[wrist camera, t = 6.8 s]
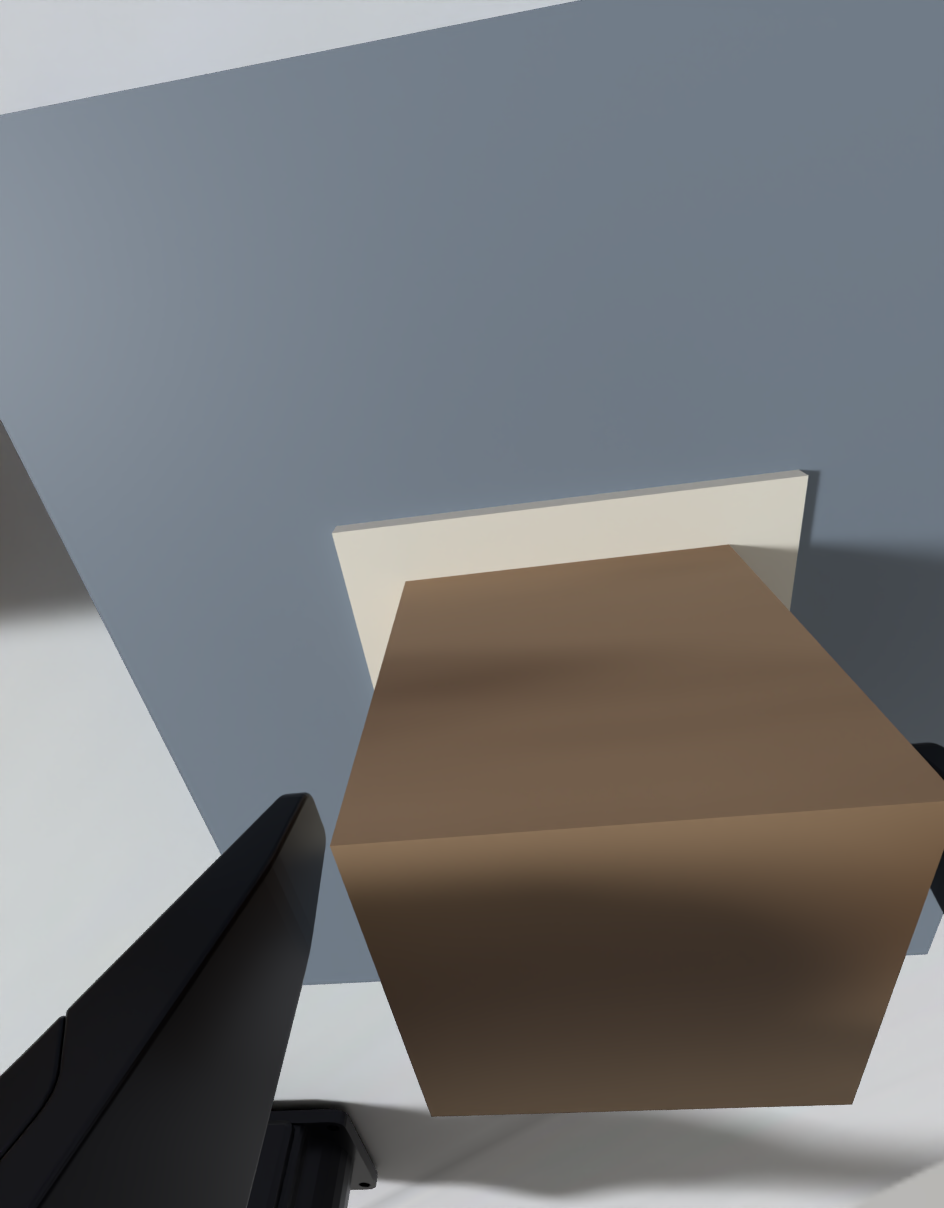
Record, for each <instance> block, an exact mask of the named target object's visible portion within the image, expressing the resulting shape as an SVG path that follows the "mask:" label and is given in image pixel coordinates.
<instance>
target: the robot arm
mask: <svg viewBox="0 0 944 1208" xmlns="http://www.w3.org/2000/svg"><path fill="white" fill-rule="evenodd" d="M911 745H912V746H913V747H914V748H915V749H916V750H917V751H918V752H919V754H920V755H921V756H922V757H923V758H924V759H925V760H926V761H927V762H928V763H929V765H930V766H931V767H932V768H933V769H934V770H935V771H936V772H937V773H938V774H939V776H940V777H941V778H942V779H943V780H944V747H943V746H941V745H938V744H936V743H931V742H924V743H911ZM325 848H326V834H325V829H324V826H323V823H322V821H321V818H320V815H319V812H318V810H317V807H316V804H315V802H314V799H313V797H312V796H311V795H310V794H309V793H306V792H302V793H290V794H284V795H282V796H280V797H279V798H278V799H276V800H275V801H274V803H273V804H272V805H271V806H270V807H269V808H268V809H267V810H266V811H265V812H264V813H263V814H262V815H261V816H260V817H259V818H258V819H257V820H256V821H255V822H254V823H253V824H252V825H251V826H250V827H249V828H248V829H247V830H246V831H245V832H244V833H243V834H242V835H241V836H240V837H239V838H238V839H237V840H236V841H235V842H234V843H233V844H232V845H231V846H230V847H229V848H228V849H227V850H226V851H225V852H224V853H223V854H222V855H221V856H220V857H219V858H218V859H217V860H216V861H215V862H214V863H213V864H212V865H211V866H210V867H209V868H208V869H207V870H206V871H205V872H204V873H203V874H202V875H201V876H200V877H199V878H198V879H197V880H196V881H195V882H194V883H193V884H192V885H191V886H190V887H189V888H188V889H187V890H186V891H185V892H184V893H183V894H182V895H181V896H180V897H179V898H178V899H177V900H176V901H175V902H174V903H173V904H172V905H171V906H170V907H169V908H168V909H167V910H166V911H165V912H164V913H163V914H162V915H161V916H160V917H159V918H158V919H157V920H156V921H155V922H154V923H153V924H152V925H151V926H150V927H149V928H148V929H147V930H146V931H145V932H144V933H143V934H142V935H141V936H140V937H139V938H138V939H137V940H136V941H135V942H134V943H133V944H132V945H131V946H130V947H129V948H128V949H127V950H126V951H125V952H124V953H123V954H122V955H121V956H120V957H119V958H118V959H117V960H116V961H115V962H114V963H113V964H112V965H111V966H110V967H109V968H108V969H107V970H106V971H105V972H104V973H103V974H102V975H101V976H100V977H99V978H98V979H97V980H96V981H95V982H94V983H93V984H92V985H91V986H90V987H89V988H88V989H87V990H86V991H85V992H84V993H83V994H82V995H81V996H80V998H79V999H78V1000H77V1001H76V1002H75V1003H74V1004H73V1005H72V1006H71V1007H70V1008H69V1009H68V1010H67V1012H66V1016H61V1017H59V1018H58V1019H57V1020H56V1021H55V1022H54V1023H53V1024H52V1025H51V1026H50V1027H49V1028H48V1029H47V1030H46V1031H45V1032H44V1033H43V1034H42V1035H41V1036H40V1037H39V1038H38V1039H37V1040H36V1041H35V1042H34V1043H33V1044H32V1045H31V1046H30V1047H29V1048H28V1049H27V1050H26V1051H25V1052H24V1053H23V1054H22V1055H21V1056H20V1057H19V1058H18V1059H17V1060H16V1061H15V1062H14V1063H13V1064H12V1065H11V1066H10V1067H9V1068H8V1069H7V1070H6V1071H5V1072H4V1073H3V1074H2V1075H1V1076H0V1208H347V1206H348V1200H349V1193H350V1190H363V1189H373V1188H375V1187H376V1182H377V1174H378V1173H377V1170H376V1169H375V1167H374V1165H373V1163H372V1161H371V1159H370V1157H369V1155H368V1153H367V1151H366V1149H365V1147H364V1145H363V1143H362V1141H361V1140H360V1138H359V1136H358V1134H357V1132H356V1130H355V1128H354V1126H353V1124H352V1122H351V1120H350V1118H349V1116H348V1115H347V1114H346V1113H345V1112H343V1111H341V1110H335V1109H326V1110H292V1111H271V1108H272V1104H273V1100H274V1096H275V1092H276V1088H277V1084H278V1080H279V1076H280V1072H281V1068H282V1064H283V1060H284V1056H285V1052H286V1048H287V1044H288V1040H289V1036H290V1032H291V1028H292V1024H293V1020H294V1016H295V1012H296V1008H297V1004H298V1000H299V996H300V992H301V988H302V984H303V980H304V976H305V972H306V968H307V963H308V959H309V954H310V950H311V944H312V938H313V932H314V925H315V918H316V911H317V904H318V897H319V890H320V883H321V876H322V869H323V862H324V855H325ZM930 889H931V891H932V893H933V895H934V897H935V899H936V901H937V903H938V904H939V906H940V908H941V910H942V912H943V914H944V850H943V853H942V856H941V859H940V861H939V864H938V867H937V870H936V873H935V875H934V878H933V881H932V884H931V886H930Z"/></svg>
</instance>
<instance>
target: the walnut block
mask: <svg viewBox="0 0 944 1208" xmlns="http://www.w3.org/2000/svg"><path fill="white" fill-rule="evenodd" d="M330 848H331V851H332V853H333V856H334V859H335V861H336V864H337V867H338V869H339V872H340V875H341V877H342V880H343V883H344V885H345V888H346V891H347V893H348V896H349V899H350V901H351V904H352V907H353V909H354V912H355V915H356V917H357V920H358V923H359V925H360V928H361V931H362V933H363V936H364V939H365V941H366V944H367V946H368V949H369V952H370V954H371V957H372V960H373V962H374V965H375V968H376V970H377V973H378V976H379V978H380V981H381V984H382V986H383V989H384V992H385V994H386V997H387V1000H388V1002H389V1005H390V1008H391V1010H392V1013H393V1016H394V1018H395V1021H396V1024H397V1026H398V1029H399V1032H400V1034H401V1037H402V1040H403V1042H404V1045H405V1048H406V1050H407V1053H408V1056H409V1058H410V1061H411V1064H412V1066H413V1069H414V1072H415V1074H416V1077H417V1080H418V1082H419V1085H420V1087H421V1090H422V1093H423V1095H424V1098H425V1101H426V1103H427V1106H428V1109H429V1111H430V1114H431V1117H437V1116H472V1115H506V1114H540V1113H575V1112H609V1111H643V1110H678V1109H712V1108H746V1107H781V1106H815V1105H850V1104H852V1103H853V1101H854V1098H855V1095H856V1092H857V1089H858V1087H859V1084H860V1081H861V1078H862V1076H863V1073H864V1070H865V1067H866V1064H867V1062H868V1059H869V1056H870V1053H871V1050H872V1048H873V1045H874V1042H875V1039H876V1037H877V1034H878V1031H879V1028H880V1025H881V1023H882V1020H883V1017H884V1014H885V1012H886V1009H887V1006H888V1003H889V1000H890V998H891V995H892V992H893V989H894V987H895V984H896V981H897V978H898V975H899V973H900V970H901V967H902V964H903V962H904V959H905V956H906V953H907V950H908V948H909V945H910V942H911V939H912V936H913V934H914V931H915V928H916V925H917V923H918V920H919V917H920V914H921V911H922V909H923V906H924V903H925V900H926V898H927V895H928V892H929V889H930V886H931V884H932V881H933V878H934V875H935V873H936V870H937V867H938V864H939V861H940V859H941V856H942V853H943V850H944V780H943V779H942V778H941V777H940V776H939V774H938V773H937V772H936V771H935V770H934V769H933V768H932V767H931V766H930V765H929V763H928V762H927V761H926V760H925V759H924V758H923V757H922V756H921V755H920V754H919V752H918V751H917V750H916V749H915V748H914V747H913V746H912V745H911V744H910V743H909V741H908V740H907V739H906V738H905V737H904V736H903V735H902V734H901V733H900V732H899V731H898V729H897V728H896V727H895V726H894V725H893V724H892V723H891V722H890V721H889V720H888V718H887V717H886V716H885V715H884V714H883V713H882V712H881V711H880V710H879V709H878V707H877V706H876V705H875V704H874V703H873V702H872V701H871V700H870V699H869V698H868V696H867V695H866V694H865V693H864V692H863V691H862V690H861V689H860V688H859V687H858V685H857V684H856V683H855V682H854V681H853V680H852V679H851V678H850V677H849V676H848V675H847V673H846V672H845V671H844V670H843V669H842V668H841V667H840V666H839V665H838V664H837V662H836V661H835V660H834V659H833V658H832V657H831V656H830V655H829V654H828V653H827V651H826V650H825V649H824V648H823V647H822V646H821V645H820V644H819V643H818V642H817V640H816V639H815V638H814V637H813V636H812V635H811V634H810V633H809V632H808V631H807V629H806V628H805V627H804V626H803V625H802V624H801V623H800V622H799V621H798V620H797V619H796V617H795V616H794V615H793V614H792V613H791V612H790V611H789V610H788V609H787V608H786V606H785V605H784V604H783V603H782V602H781V601H780V600H779V599H778V598H777V597H776V595H775V594H774V593H773V592H772V591H771V590H770V589H769V588H768V587H767V586H766V584H765V583H764V582H763V581H762V580H761V579H760V578H759V577H758V576H757V575H756V573H755V572H754V571H753V570H752V569H751V568H750V567H749V566H748V565H747V564H746V563H745V561H744V560H743V559H742V558H741V557H740V556H739V555H738V554H737V553H736V552H735V550H734V549H733V548H732V547H731V546H730V545H729V544H728V545H719V546H710V547H701V548H693V549H684V550H675V551H666V552H658V553H649V554H640V555H631V556H623V557H614V558H605V559H596V560H588V561H579V562H570V563H562V564H553V565H544V566H535V567H527V568H518V569H509V570H500V571H492V572H483V573H474V574H465V575H457V576H448V577H439V578H430V579H422V580H413V581H405V585H404V588H403V592H402V595H401V599H400V602H399V606H398V609H397V613H396V616H395V620H394V623H393V627H392V630H391V634H390V637H389V641H388V644H387V648H386V651H385V655H384V658H383V662H382V665H381V669H380V672H379V676H378V679H377V683H376V686H375V690H374V693H373V697H372V700H371V704H370V707H369V711H368V714H367V718H366V721H365V725H364V728H363V732H362V735H361V739H360V742H359V746H358V749H357V752H356V756H355V759H354V763H353V766H352V770H351V773H350V777H349V780H348V784H347V787H346V791H345V794H344V798H343V801H342V805H341V808H340V812H339V815H338V819H337V822H336V826H335V829H334V833H333V836H332V840H331V843H330Z"/></svg>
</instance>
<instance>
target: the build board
mask: <svg viewBox="0 0 944 1208" xmlns="http://www.w3.org/2000/svg"><path fill="white" fill-rule="evenodd" d="M0 419H1V421H2V423H3V425H4V427H5V429H6V431H7V433H8V435H9V437H10V439H11V441H12V443H13V445H14V447H15V449H16V451H17V453H18V455H19V457H20V459H21V461H22V463H23V465H24V467H25V469H26V471H27V473H28V475H29V477H30V479H31V481H32V483H33V484H34V486H35V488H36V490H37V492H38V494H39V496H40V498H41V500H42V502H43V504H44V506H45V508H46V510H47V512H48V514H49V516H50V518H51V520H52V522H53V524H54V526H55V528H56V530H57V532H58V534H59V536H60V538H61V540H62V542H63V544H64V546H65V548H66V550H67V552H68V553H69V555H70V557H71V559H72V561H73V563H74V565H75V567H76V569H77V571H78V573H79V575H80V577H81V579H82V581H83V583H84V585H85V587H86V589H87V591H88V593H89V595H90V597H91V599H92V601H93V603H94V605H95V607H96V609H97V611H98V613H99V615H100V617H101V619H102V621H103V622H104V624H105V626H106V628H107V630H108V632H109V634H110V636H111V638H112V640H113V642H114V644H115V646H116V648H117V650H118V652H119V654H120V656H121V658H122V660H123V662H124V664H125V666H126V668H127V670H128V672H129V674H130V676H131V678H132V680H133V682H134V684H135V686H136V688H137V689H138V691H139V693H140V695H141V697H142V699H143V701H144V703H145V705H146V707H147V709H148V711H149V713H150V715H151V717H152V719H153V721H154V723H155V725H156V727H157V729H158V731H159V733H160V735H161V737H162V739H163V741H164V743H165V745H166V747H167V749H168V751H169V753H170V755H171V757H172V758H173V760H174V762H175V764H176V766H177V768H178V770H179V772H180V774H181V776H182V778H183V780H184V782H185V784H186V786H187V788H188V790H189V792H190V794H191V796H192V798H193V800H194V802H195V804H196V806H197V808H198V810H199V812H200V814H201V816H202V818H203V820H204V822H205V824H206V826H207V827H208V829H209V831H210V833H211V835H212V837H213V839H214V841H215V843H216V845H217V847H218V849H219V851H220V853H221V855H222V854H223V853H224V852H225V851H226V850H227V849H228V848H229V847H230V846H231V845H232V844H233V843H234V842H235V841H236V840H237V839H238V838H239V837H240V836H241V835H242V834H243V833H244V832H245V831H246V830H247V829H248V828H249V827H250V826H251V825H252V824H253V823H254V822H255V821H256V820H257V819H258V818H259V817H260V816H261V815H262V814H263V813H264V812H265V811H266V810H267V809H268V808H269V807H270V806H271V805H272V804H273V803H274V801H275V800H276V799H278V798H279V797H280V796H282V795H284V794H290V793H302V792H306V793H309V794H310V795H311V796H312V797H313V799H314V802H315V804H316V807H317V810H318V812H319V815H320V818H321V821H322V823H323V826H324V829H325V834H326V848H325V855H324V862H323V869H322V876H321V883H320V890H319V897H318V904H317V911H316V918H315V925H314V932H313V938H312V944H311V950H310V954H309V959H308V963H307V968H306V972H305V976H304V980H303V984H302V985H316V984H337V983H357V982H377V981H380V978H379V976H378V973H377V970H376V968H375V965H374V962H373V960H372V957H371V954H370V952H369V949H368V946H367V944H366V941H365V939H364V936H363V933H362V931H361V928H360V925H359V923H358V920H357V917H356V915H355V912H354V909H353V907H352V904H351V901H350V899H349V896H348V893H347V891H346V888H345V885H344V883H343V880H342V877H341V875H340V872H339V869H338V867H337V864H336V861H335V859H334V856H333V853H332V851H331V848H330V843H331V840H332V836H333V833H334V829H335V826H336V822H337V819H338V815H339V812H340V808H341V805H342V801H343V798H344V794H345V791H346V787H347V784H348V780H349V777H350V773H351V770H352V766H353V763H354V759H355V756H356V752H357V749H358V746H359V742H360V739H361V735H362V732H363V728H364V725H365V721H366V718H367V714H368V711H369V707H370V704H371V700H372V697H373V693H374V690H375V686H376V683H377V679H378V676H379V672H380V669H381V665H382V662H383V658H384V655H385V651H386V648H387V644H388V641H389V637H390V634H391V630H392V627H393V623H394V620H395V616H396V613H397V609H398V606H399V602H400V599H401V595H402V592H403V588H404V585H405V581H413V580H422V579H430V578H439V577H448V576H457V575H465V574H474V573H483V572H492V571H500V570H509V569H518V568H527V567H535V566H544V565H553V564H562V563H570V562H579V561H588V560H596V559H605V558H614V557H623V556H631V555H640V554H649V553H658V552H666V551H675V550H684V549H693V548H701V547H710V546H719V545H728V544H729V545H730V546H731V547H732V548H733V549H734V550H735V552H736V553H737V554H738V555H739V556H740V557H741V558H742V559H743V560H744V561H745V563H746V564H747V565H748V566H749V567H750V568H751V569H752V570H753V571H754V572H755V573H756V575H757V576H758V577H759V578H760V579H761V580H762V581H763V582H764V583H765V584H766V586H767V587H768V588H769V589H770V590H771V591H772V592H773V593H774V594H775V595H776V597H777V598H778V599H779V600H780V601H781V602H782V603H783V604H784V605H785V606H786V608H787V609H788V610H789V611H790V612H791V613H792V614H793V615H794V616H795V617H796V619H797V620H798V621H799V622H800V623H801V624H802V625H803V626H804V627H805V628H806V629H807V631H808V632H809V633H810V634H811V635H812V636H813V637H814V638H815V639H816V640H817V642H818V643H819V644H820V645H821V646H822V647H823V648H824V649H825V650H826V651H827V653H828V654H829V655H830V656H831V657H832V658H833V659H834V660H835V661H836V662H837V664H838V665H839V666H840V667H841V668H842V669H843V670H844V671H845V672H846V673H847V675H848V676H849V677H850V678H851V679H852V680H853V681H854V682H855V683H856V684H857V685H858V687H859V688H860V689H861V690H862V691H863V692H864V693H865V694H866V695H867V696H868V698H869V699H870V700H871V701H872V702H873V703H874V704H875V705H876V706H877V707H878V709H879V710H880V711H881V712H882V713H883V714H884V715H885V716H886V717H887V718H888V720H889V721H890V722H891V723H892V724H893V725H894V726H895V727H896V728H897V729H898V731H899V732H900V733H901V734H902V735H903V736H904V737H905V738H906V739H907V740H908V741H909V743H910V744H911V743H924V742H931V743H936V744H938V745H941V746H943V747H944V0H579V1H574V2H569V3H564V4H559V5H554V6H549V7H544V8H538V9H533V10H528V11H523V12H518V13H513V14H508V15H503V16H498V17H493V18H488V19H483V20H478V21H473V22H468V23H463V24H458V25H453V26H448V27H442V28H437V29H432V30H427V31H422V32H417V33H412V34H407V35H402V36H397V37H392V38H387V39H382V40H377V41H372V42H367V43H362V44H357V45H352V46H347V47H341V48H336V49H331V50H326V51H321V52H316V53H311V54H306V55H301V56H296V57H291V58H286V59H281V60H276V61H271V62H266V63H261V64H256V65H251V66H245V67H240V68H235V69H230V70H225V71H220V72H215V73H210V74H205V75H200V76H195V77H190V78H185V79H180V80H175V81H170V82H165V83H160V84H155V85H149V86H144V87H139V88H134V89H129V90H124V91H119V92H114V93H109V94H104V95H99V96H94V97H89V98H84V99H79V100H74V101H69V102H64V103H59V104H54V105H48V106H43V107H38V108H33V109H28V110H23V111H18V112H13V113H8V114H3V115H0ZM942 915H943V912H942V910H941V908H940V906H939V904H938V903H937V901H936V899H935V897H934V895H933V893H932V891H931V889H929V892H928V895H927V898H926V900H925V903H924V906H923V909H922V911H921V914H920V917H919V920H918V923H917V925H916V928H915V931H914V934H913V936H912V939H911V942H910V945H909V948H908V950H907V953H906V955H922V954H928V951H929V949H930V946H931V943H932V941H933V938H934V936H935V933H936V931H937V928H938V926H939V923H940V921H941V918H942Z"/></svg>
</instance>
